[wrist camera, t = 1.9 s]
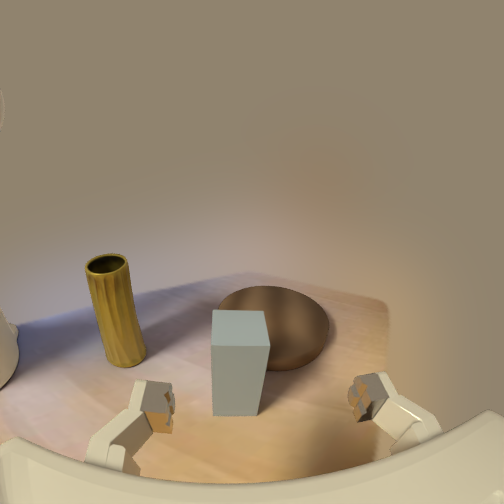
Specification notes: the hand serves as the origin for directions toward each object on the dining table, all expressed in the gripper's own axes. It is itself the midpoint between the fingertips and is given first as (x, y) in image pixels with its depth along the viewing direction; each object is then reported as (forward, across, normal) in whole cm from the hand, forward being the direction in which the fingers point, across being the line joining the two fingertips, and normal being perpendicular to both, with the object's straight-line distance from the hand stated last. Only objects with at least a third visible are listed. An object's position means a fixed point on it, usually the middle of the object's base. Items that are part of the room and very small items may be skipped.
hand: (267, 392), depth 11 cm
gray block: (+12, 0, +19) cm, 22 cm away
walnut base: (+25, -6, +18) cm, 32 cm away
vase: (+19, +15, +19) cm, 31 cm away
